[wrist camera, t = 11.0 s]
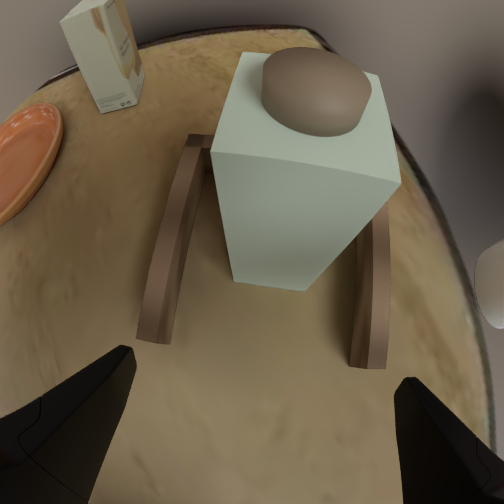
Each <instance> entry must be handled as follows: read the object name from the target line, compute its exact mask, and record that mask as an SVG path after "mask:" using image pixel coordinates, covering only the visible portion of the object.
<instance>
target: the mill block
mask: <svg viewBox="0 0 504 504" xmlns="http://www.w3.org/2000/svg"><path fill="white" fill-rule="evenodd" d="M210 153H211V159H212V165H213V171H214V177H215V183H216V188H217V194H218V200H219V205H220V211H221V216H222V222H223V227H224V233H225V238H226V243H227V249H228V254H229V259H230V264H231V270H232V275H233V280H234V282H238V283H245V284H252V285H259V286H266V287H273V288H281V289H288V290H296V291H305V290H306V289H307V288H308V287H309V286H310V285H311V284H312V283H313V282H314V281H315V280H316V279H317V278H318V277H319V276H320V275H321V274H322V273H323V272H324V270H325V269H326V268H327V267H328V266H329V265H330V264H331V263H332V262H333V261H334V260H335V259H336V258H337V257H338V256H339V254H340V253H341V252H342V251H343V250H344V249H345V248H346V247H347V246H348V245H349V243H350V242H351V241H352V240H353V239H354V238H355V237H356V236H357V235H358V233H359V232H360V231H361V230H362V229H363V228H364V227H365V226H366V224H367V223H368V222H369V221H370V220H371V219H372V218H373V216H374V215H375V214H376V213H377V212H378V211H379V209H380V208H381V207H382V206H383V205H384V204H385V202H386V201H387V200H388V199H389V198H390V196H391V195H392V194H393V193H394V192H395V190H396V189H397V188H398V187H399V186H400V184H401V178H400V171H399V165H398V159H397V153H396V148H395V143H394V138H393V133H392V128H391V124H390V119H389V115H388V111H387V107H386V103H385V100H384V96H383V92H382V88H381V85H380V82H379V79H378V76H377V75H374V74H370V73H366V72H363V71H362V70H361V69H360V68H359V67H357V66H356V65H355V64H353V63H352V62H350V61H348V60H347V59H345V58H343V57H341V56H339V55H337V54H334V53H331V52H328V51H325V50H321V49H315V48H307V47H295V48H287V49H283V50H280V51H277V52H275V53H273V54H263V53H251V52H243V53H242V56H241V58H240V61H239V64H238V67H237V69H236V72H235V75H234V78H233V81H232V84H231V87H230V90H229V93H228V96H227V99H226V102H225V105H224V108H223V111H222V114H221V117H220V121H219V124H218V127H217V130H216V134H215V137H214V140H213V144H212V147H211V150H210Z"/></svg>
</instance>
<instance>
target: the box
mask: <svg viewBox="0 0 504 504" xmlns="http://www.w3.org/2000/svg"><path fill="white" fill-rule="evenodd" d="M214 137H215V135H201V134H189V135H188V138H187V141H186V144H185V146H184V149H183V152H182V155H181V158H180V161H179V164H178V167H177V170H176V174H175V177H174V180H173V183H172V186H171V190H170V193H169V196H168V200H167V203H166V207H165V210H164V214H163V217H162V221H161V225H160V228H159V232H158V236H157V240H156V244H155V248H154V252H153V256H152V260H151V264H150V269H149V273H148V278H147V282H146V287H145V292H144V297H143V302H142V307H141V312H140V317H139V323H138V328H137V334H136V339H139V340H143V341H148V342H152V343H157V344H170V341H171V335H172V329H173V323H174V317H175V311H176V306H177V300H178V295H179V290H180V284H181V279H182V274H183V269H184V264H185V260H186V255H187V250H188V246H189V241H190V237H191V232H192V228H193V223H194V219H195V215H196V211H197V207H198V202H199V198H200V194H201V190H202V186H203V182H204V179H205V175H206V172H213V173H214V171H213V165H212V159H211V153H210V150H211V147H212V144H213V140H214ZM390 289H391V268H390V236H389V220H388V207H387V201H386V202H385V204H384V205H383V206H382V207H381V208H380V209H379V211H378V212H377V213H376V214H375V215H374V216H373V218H372V219H371V220H370V221H369V222H368V223H367V224H366V226H365V227H364V228H363V229H362V230H361V231H360V232H359V233H358V235H357V249H356V288H355V307H354V321H353V334H352V345H351V354H350V363H349V367H356V368H364V369H386V360H387V350H388V337H389V321H390Z"/></svg>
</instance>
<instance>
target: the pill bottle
mask: <svg viewBox="0 0 504 504" xmlns="http://www.w3.org/2000/svg"><path fill="white" fill-rule="evenodd" d="M474 287H475V294H476V299H477V302H478V306H479V308H480V311H481V313H482V315H483V316H484V318H485V319H486V321H487V322H488V323H489V324H490V325H491V326H492V327H494V328H497V329H503V328H504V239H503V240H501V241H499V242H497V243H495V244H494V245H492V246H490V247H488V248H487V249H485V250H484V251H483V252H482V253H481V254H480V256H479V257H478V260H477V262H476V266H475V274H474Z"/></svg>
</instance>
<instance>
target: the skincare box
mask: <svg viewBox="0 0 504 504" xmlns="http://www.w3.org/2000/svg"><path fill="white" fill-rule="evenodd" d="M60 24H61V27H62V29H63V32H64V34H65V36H66V39H67V42H68V44H69V46H70V48H71V51H72V53H73V55H74V58H75V60H76V62H77V64H78V67H79V69H80V71H81V73H82V75H83V78H84V80H85V82H86V84H87V86H88V88H89V90H90V92H91V94H92V97H93V99H94V101H95V103H96V105H97V107H98V109H99V111H100V113H101V114H102V113H106V112H110V111H114V110H118V109H122V108H125V107H129V106H133V105H136V104H137V103H138V100H139V97H140V93H141V89H142V85H143V80H144V75H145V73H144V69H143V66H142V63H141V60H140V56H139V53H138V50H137V46H136V43H135V39H134V35H133V32H132V29H131V24H130V21H129V17H128V13H127V9H126V5H125V2H124V0H83V1H81V2H80V3H79V4H78V5H77V6H76V7H74V8H73V9H72V10H71V11H70V12H69V13H68V14H67V15H66V16H65V17H64V18H63V19H62V20H61V21H60Z"/></svg>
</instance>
